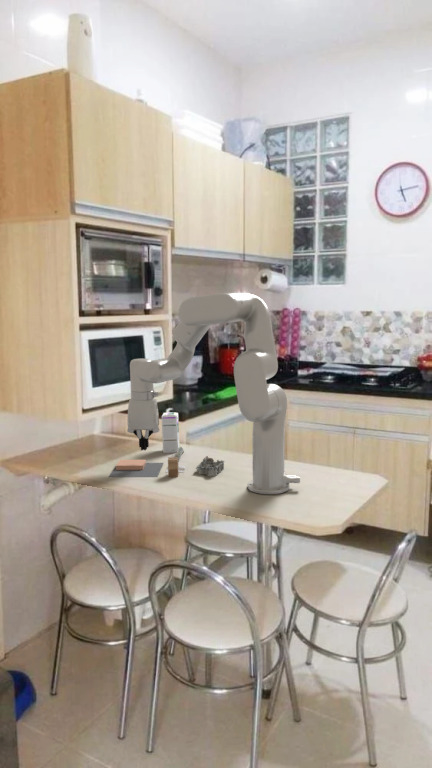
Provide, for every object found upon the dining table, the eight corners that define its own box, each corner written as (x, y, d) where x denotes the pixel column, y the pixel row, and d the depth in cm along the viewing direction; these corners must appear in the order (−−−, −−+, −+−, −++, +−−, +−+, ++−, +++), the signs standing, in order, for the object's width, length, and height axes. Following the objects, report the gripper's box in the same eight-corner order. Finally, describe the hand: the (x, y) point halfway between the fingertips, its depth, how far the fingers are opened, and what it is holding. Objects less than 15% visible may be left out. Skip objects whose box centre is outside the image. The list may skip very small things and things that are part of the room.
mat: (163, 463, 206) (163, 462, 206) (157, 478, 190) (157, 476, 190) (118, 463, 206) (117, 462, 206) (108, 478, 191) (108, 477, 190)
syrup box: (178, 453, 219) (177, 415, 216) (162, 453, 219) (161, 415, 217) (179, 449, 224) (178, 411, 222) (164, 449, 224) (163, 412, 222)
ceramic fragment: (178, 464, 206) (178, 453, 205) (163, 464, 206) (163, 453, 206) (185, 454, 220) (184, 444, 219) (171, 454, 220) (171, 444, 220)
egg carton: (207, 466, 203) (207, 455, 202) (227, 469, 200) (227, 457, 199) (193, 475, 193) (193, 463, 192) (214, 478, 190) (214, 465, 189)
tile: (146, 459, 204) (120, 459, 205) (142, 465, 197) (116, 465, 198) (146, 464, 204) (120, 464, 205) (142, 470, 198) (116, 470, 198)
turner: (182, 478, 190) (181, 459, 189) (163, 478, 190) (163, 460, 189) (185, 467, 201) (185, 450, 200) (168, 467, 202) (167, 450, 201)
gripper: (166, 393, 201) (167, 446, 203) (122, 394, 201) (124, 446, 204) (163, 397, 193) (164, 452, 196) (117, 397, 194) (119, 452, 197)
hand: (144, 449), depth 200 cm, fingers closed
